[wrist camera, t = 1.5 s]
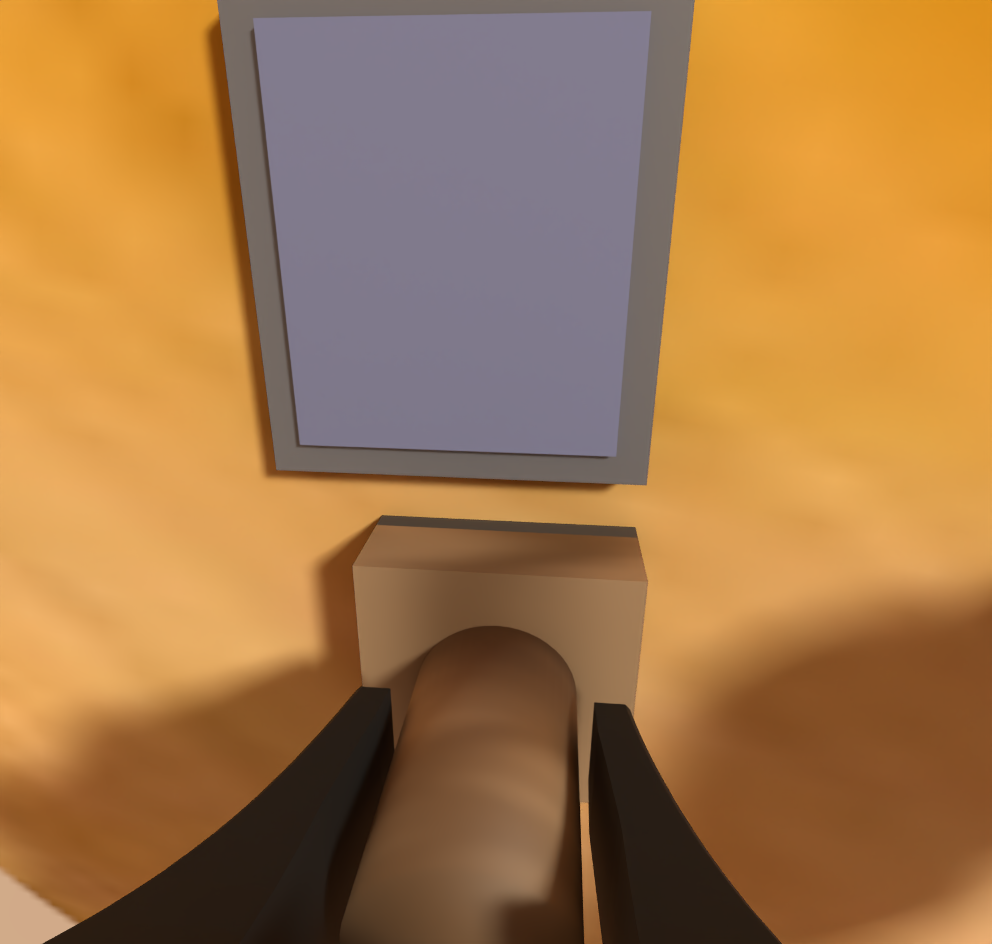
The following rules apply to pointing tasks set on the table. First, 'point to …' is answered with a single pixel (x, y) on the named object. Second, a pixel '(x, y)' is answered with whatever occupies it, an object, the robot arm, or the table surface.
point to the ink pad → (459, 228)
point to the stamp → (488, 721)
